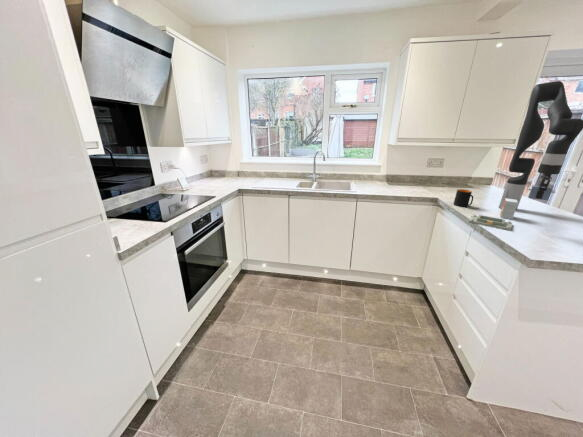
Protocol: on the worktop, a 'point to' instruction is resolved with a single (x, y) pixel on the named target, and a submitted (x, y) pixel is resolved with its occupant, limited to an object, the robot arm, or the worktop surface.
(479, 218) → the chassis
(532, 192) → the servo
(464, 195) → the mug
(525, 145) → the robot arm
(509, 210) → the small box
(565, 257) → the worktop surface
